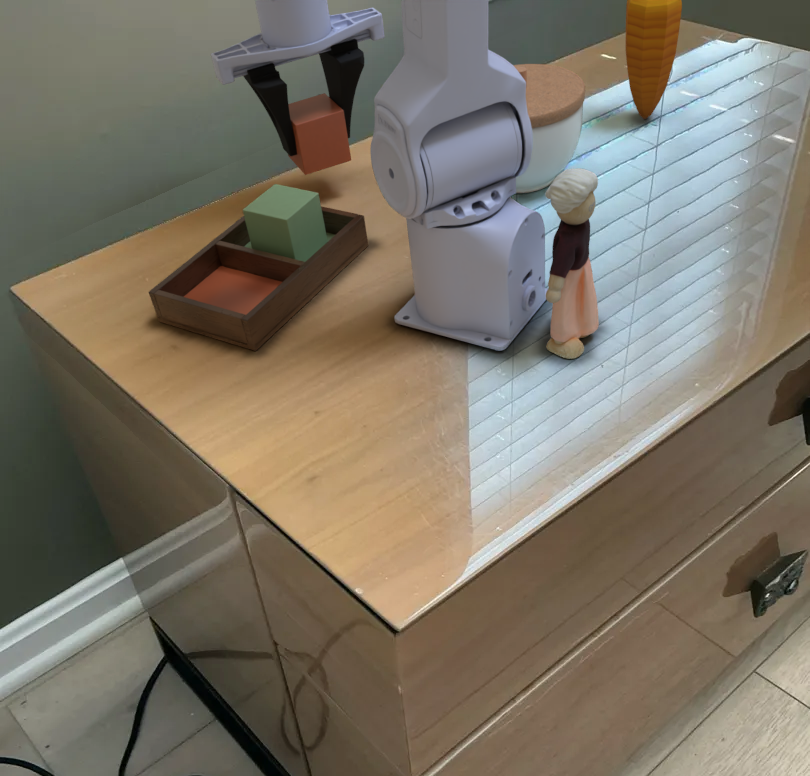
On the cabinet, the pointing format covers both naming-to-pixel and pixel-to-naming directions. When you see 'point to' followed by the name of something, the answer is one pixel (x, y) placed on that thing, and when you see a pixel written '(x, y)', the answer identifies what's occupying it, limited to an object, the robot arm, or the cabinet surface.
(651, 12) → the carrot
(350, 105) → the robot arm
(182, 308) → the sorting tray
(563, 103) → the trinket box
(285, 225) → the sage block
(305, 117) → the terracotta block
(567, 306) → the grandmother figurine
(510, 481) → the cabinet surface
